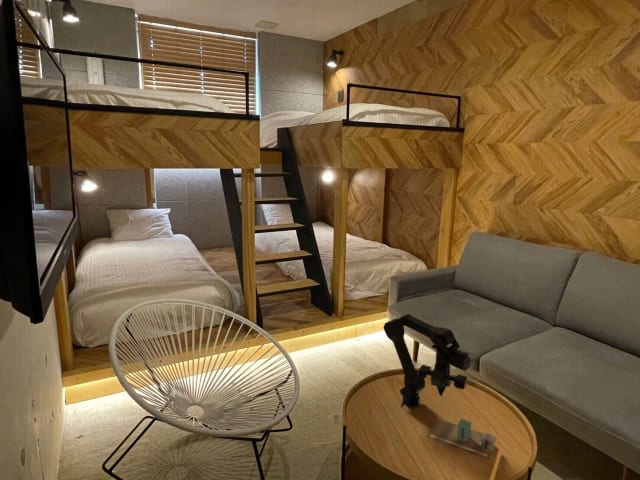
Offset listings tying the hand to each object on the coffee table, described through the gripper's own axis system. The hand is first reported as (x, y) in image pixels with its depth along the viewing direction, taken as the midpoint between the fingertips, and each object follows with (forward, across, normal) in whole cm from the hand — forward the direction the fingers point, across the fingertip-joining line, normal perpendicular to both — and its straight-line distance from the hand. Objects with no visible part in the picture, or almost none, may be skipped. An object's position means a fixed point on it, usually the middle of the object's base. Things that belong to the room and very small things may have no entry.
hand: (441, 395), depth 175 cm
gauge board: (+12, +10, -7) cm, 17 cm away
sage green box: (+11, +11, -7) cm, 17 cm away
